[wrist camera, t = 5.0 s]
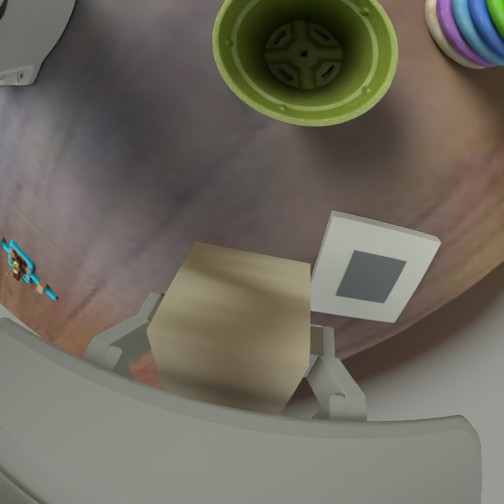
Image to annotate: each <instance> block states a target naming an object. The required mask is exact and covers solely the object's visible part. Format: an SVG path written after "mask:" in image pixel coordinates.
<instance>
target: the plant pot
mask: <svg viewBox="0 0 504 504" xmlns="http://www.w3.org/2000/svg"><path fill="white" fill-rule="evenodd" d="M314 30H318V31H321V32H323V33H324V34H326V35H327V36H328V38H329V41H326V40H325V39H324V38H323V37H322V36H321V35H319V34H318V33H317V32H315V31H314ZM281 32H286V34H285V35H284V36H283V37H282V38H281V39H280V40H279V41H278V43H277V44H275V43H274V40H275V39H276V38H277V37H278V35H279V34H280V33H281ZM212 44H213V53H214V59H215V62H216V64H217V67H218V70H219V72H220V74H221V76H222V77H223V79H224V81H225V82H226V84H227V85H228V86H229V88H230V89H231V90H232V91H233V92H234V93H235V94H236V95H237V96H238V97H239V98H240V99H241V100H242V101H243V102H245V103H246V104H247V105H249V106H250V107H252V108H253V109H255V110H257V111H258V112H260V113H262V114H264V115H266V116H268V117H270V118H273V119H276V120H279V121H282V122H285V123H289V124H294V125H300V126H330V125H336V124H340V123H344V122H347V121H349V120H352V119H354V118H356V117H358V116H360V115H362V114H364V113H365V112H367V111H368V110H370V109H371V108H372V107H373V106H374V105H375V104H376V103H378V102H379V101H380V99H381V98H382V97H383V96H384V95H385V93H386V92H387V91H388V89H389V87H390V85H391V83H392V81H393V79H394V76H395V73H396V69H397V63H398V44H397V38H396V34H395V31H394V28H393V25H392V23H391V21H390V19H389V17H388V15H387V13H386V12H385V10H384V9H383V8H382V6H381V5H380V4H379V3H378V2H377V0H226V1H225V2H224V4H223V5H222V7H221V9H220V11H219V13H218V15H217V17H216V20H215V24H214V28H213V39H212ZM302 51H306V52H307V56H305V57H303V56H302V55H301V52H302ZM331 66H333V68H334V69H333V71H332V72H331V73H330V75H329V76H328V77H327V78H323V77H322V75H323V74H325V73H326V72H327V71H328V69H329V68H330V67H331ZM279 69H282V70H283V71H284V72H285V73H287V74H288V75H289V76H292V77H293V80H288V79H286V78H285V77H284V76H283V75H281V74H280V72H279Z"/></svg>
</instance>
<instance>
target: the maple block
mask: <svg viewBox="0 0 504 504" xmlns="http://www.w3.org/2000/svg"><path fill="white" fill-rule="evenodd" d="M310 314H311V281H310V264H309V263H304V262H299V261H294V260H289V259H284V258H278V257H273V256H268V255H263V254H258V253H253V252H248V251H242V250H237V249H232V248H227V247H222V246H217V245H211V244H206V243H201V242H196V241H195V242H194V244H193V245H192V247H191V249H190V251H189V252H188V254H187V256H186V258H185V259H184V261H183V263H182V265H181V267H180V268H179V270H178V272H177V274H176V276H175V277H174V279H173V281H172V283H171V285H170V287H169V288H168V290H167V292H166V294H165V296H164V298H163V300H162V301H161V303H160V305H159V307H158V309H157V311H156V313H155V315H154V317H153V319H152V321H151V323H150V324H149V326H148V328H147V330H146V331H147V335H148V339H149V342H150V346H151V350H152V353H153V357H154V360H155V363H156V367H157V370H158V373H159V377H160V380H161V383H162V386H163V389H164V390H167V391H170V392H174V393H177V394H181V395H184V396H188V397H192V398H195V399H199V400H203V401H207V402H211V403H216V404H220V405H225V406H229V407H234V408H239V409H244V410H250V411H256V412H261V413H268V414H275V415H280V414H281V412H282V411H283V409H284V407H285V406H286V404H287V403H288V401H289V399H290V398H291V396H292V395H293V393H294V391H295V389H296V388H297V386H298V385H299V383H300V381H301V379H302V378H303V376H304V374H305V373H306V371H307V369H308V367H309V360H310Z"/></svg>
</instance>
